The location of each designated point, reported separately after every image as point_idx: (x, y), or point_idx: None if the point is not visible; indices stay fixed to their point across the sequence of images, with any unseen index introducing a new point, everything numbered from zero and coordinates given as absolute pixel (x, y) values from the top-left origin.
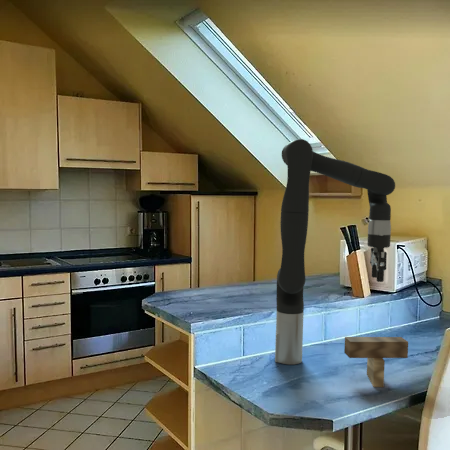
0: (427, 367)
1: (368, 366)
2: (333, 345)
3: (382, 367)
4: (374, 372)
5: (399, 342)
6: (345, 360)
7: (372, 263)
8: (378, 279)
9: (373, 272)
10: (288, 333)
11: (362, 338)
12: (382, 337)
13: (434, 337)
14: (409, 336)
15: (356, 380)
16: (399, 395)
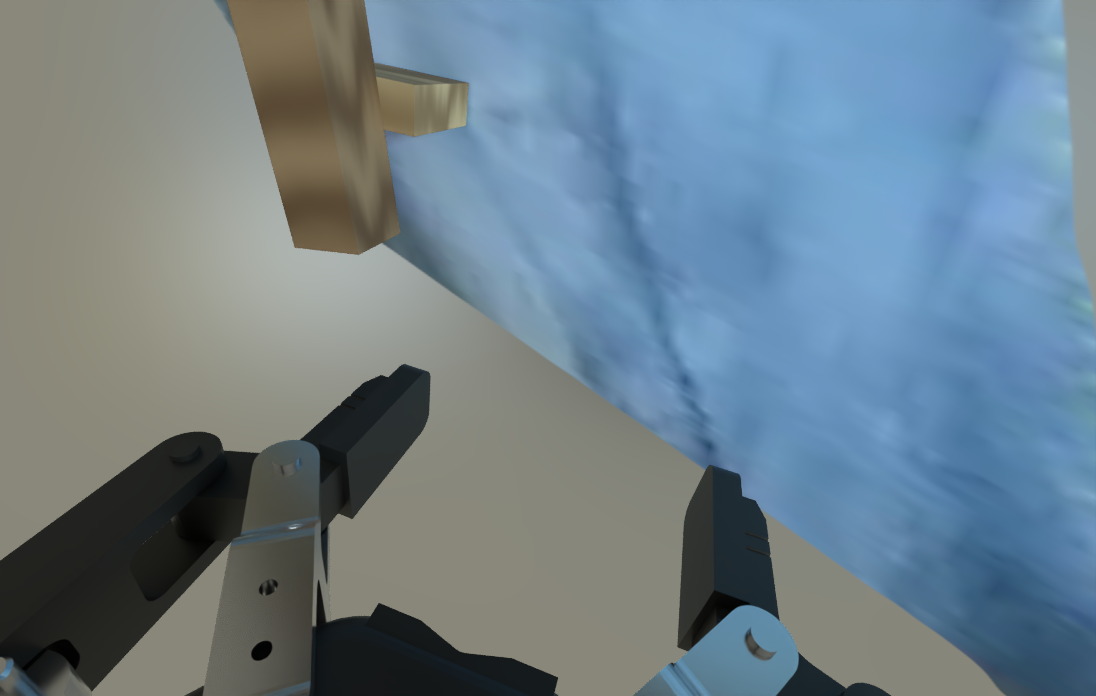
0: (553, 358)
1: (421, 77)
2: (947, 55)
3: None
4: None
5: (286, 205)
6: (658, 43)
7: (687, 654)
8: (374, 380)
9: (704, 526)
10: None
11: (281, 9)
12: (328, 150)
13: (878, 578)
14: (933, 514)
15: (411, 7)
16: None
